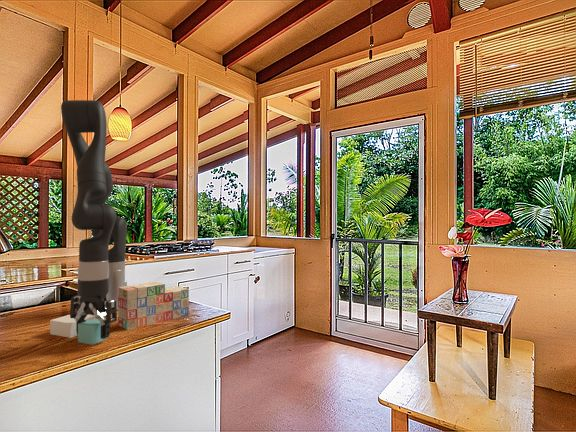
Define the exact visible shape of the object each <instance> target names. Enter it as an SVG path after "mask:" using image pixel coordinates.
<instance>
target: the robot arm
mask: <svg viewBox="0 0 576 432" xmlns="http://www.w3.org/2000/svg"><path fill="white" fill-rule="evenodd" d="M60 111H61V112H60V113H61V116H62V117H61V118H62V120H63V125H64V128H65V131H66V134H67V136H68V140H69V142H70V145H71V148H72V152H73V154H74V158H75V162H76V182H77V194H76V200H75V203H74V207H73V210H72V214H71V224H72V225H73V227H75V229H77V230H80V231H91V234H92V237H90V238H84V239H82V240H81V241H79V246H78V267H77V295H75V296H72V297H71V298H70V311H69V315H70V318H74V319H75V321H76V331H77V336H78V324H80V323H83V322H86V320H84V319H85V318H86V316H87V315H94V316H95V319H99V321H100V323H101V339H105V338H107V339H108V338H109V337H110V335H111V324H112V323H114V322H118V313H117V312H118V297H119V287H123V286H128V281H127V280H126V251H127V250H126V249H127V247H126V246H127V245H126V244H127V232H128V224H127V221H126V219H125V218H124V217H119V216H118V217H117V212H116V210H115V208H114V207H113V206H112V205H110V204H106V202H107V200H108V199H109V198H110V196H111V194H112V192H113V189H114V181H113V177H112V172H111V168H110V166H109V165H108V163H107V162H106V150H107V149H106V147H107V131H108V130H107V128H108V127H107V115H106V111H105V107H104V105H103V104H102V102H101V101H99V100H93V99H91V100H89V99H88V100H87V99H86V100H85V99H83V100H82V99H81V100H79V99H77V100H76V99H75V100H74V99H73V100H72V99H71V100H69V99H68V100H67V99H66V100H64V101H62V103H61V106H60ZM82 133H83V134H84V133H85V134H86V133H93V137H92V140H91V142H90V144H89V145H88V143H87V142H86V139H85V138H84V136H83V134H82ZM110 243H113V245H112V246H113V247H112V248H109V245H110ZM105 340H106V339H105Z"/></svg>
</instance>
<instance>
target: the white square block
mask: <svg viewBox="0 0 576 432" xmlns="http://www.w3.org/2000/svg"><path fill="white" fill-rule="evenodd" d="M92 319H96V317H95V315H91V314H88V315H87V316H86V318H85V319H84V320H86V321H89V320H92ZM49 334H50V335H51V336H56V337H57V336H58V337H63V338H70V339H71V338H74V337H78V335H77V331H76V321H75V319H74V318H70V314H67V315H64V316H59V317H57V318H53V319H50V320H49Z"/></svg>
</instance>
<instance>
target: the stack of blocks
mask: <svg viewBox="0 0 576 432" xmlns="http://www.w3.org/2000/svg"><path fill="white" fill-rule="evenodd" d="M189 292H190V291H189V288H188V287H187V288H186V287H183V286H174V287H168V288H166V284H165V283H162V282H158V281H150V282H142V283H137V284H130V285H127V286H123V287H119V297H118V310H117V312H118V313H117V326H118V327H119V328H121V329H124V330H127V331H129V330H132V329H134V330H135V329H136V328H138V329H139V328H143V327H146V326H150V325H154V324H157V323H162V322H166V321H170V320H174V319H179V318H183V317H186V316H189V314H190V313H189V311H190V310H189V306H190V304H189V303H190V299H189V297H190V296H189Z"/></svg>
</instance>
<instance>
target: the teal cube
mask: <svg viewBox="0 0 576 432" xmlns="http://www.w3.org/2000/svg"><path fill="white" fill-rule="evenodd" d="M107 339H108V338H105V339H101V323H100V321H99V319H97V318H95V319H92V320H89V321H86V322H83V323H80V324H78V335H77V343H79V344H80V343H81V344H86V345H95V344H98V343H99V342H102V341H105V340H107Z"/></svg>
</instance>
